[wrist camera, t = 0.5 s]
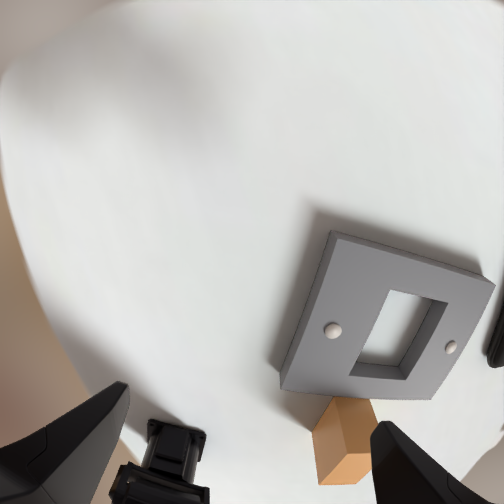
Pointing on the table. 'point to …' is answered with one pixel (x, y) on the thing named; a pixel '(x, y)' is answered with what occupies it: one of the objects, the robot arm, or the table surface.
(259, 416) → the table surface
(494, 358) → the carrying case or bag
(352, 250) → the socket board
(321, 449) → the plug
